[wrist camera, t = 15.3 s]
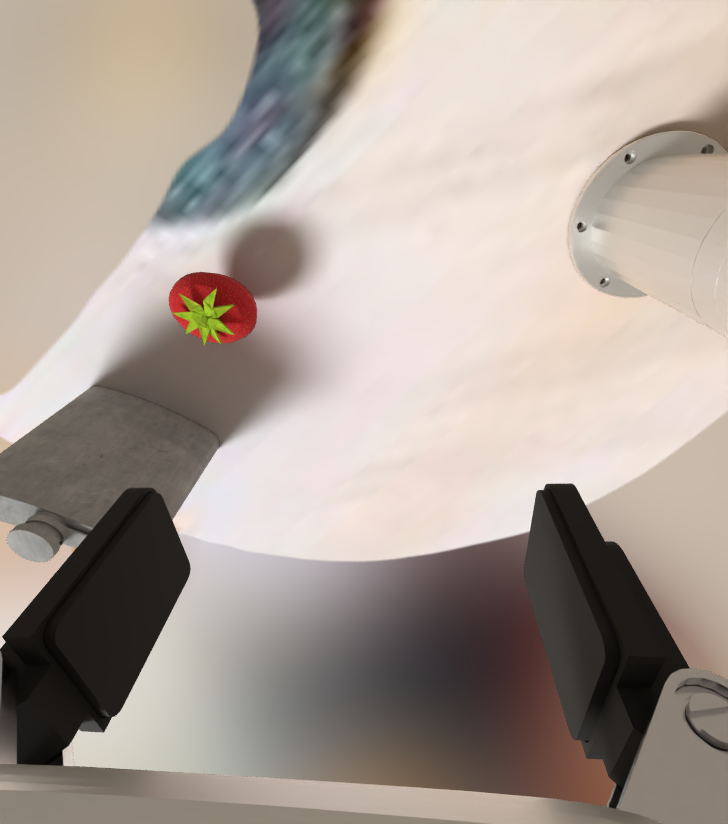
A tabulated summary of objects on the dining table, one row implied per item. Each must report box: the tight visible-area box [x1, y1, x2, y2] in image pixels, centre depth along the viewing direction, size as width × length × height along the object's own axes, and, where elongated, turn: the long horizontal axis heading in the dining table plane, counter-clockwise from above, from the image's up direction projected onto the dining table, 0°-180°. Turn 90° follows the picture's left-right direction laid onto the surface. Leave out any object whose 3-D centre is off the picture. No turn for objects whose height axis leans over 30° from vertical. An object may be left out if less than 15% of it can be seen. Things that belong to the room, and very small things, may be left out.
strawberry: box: [169, 272, 257, 346], centre depth 38 cm, size 6×8×10 cm
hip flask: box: [0, 386, 220, 562], centre depth 42 cm, size 16×4×20 cm, turn 65°
